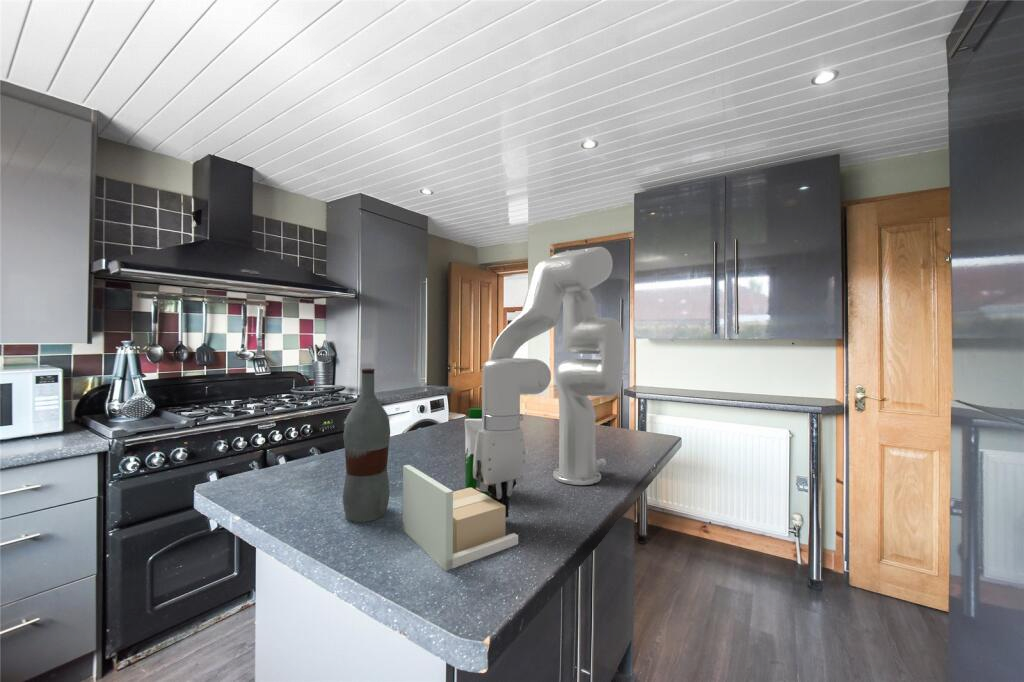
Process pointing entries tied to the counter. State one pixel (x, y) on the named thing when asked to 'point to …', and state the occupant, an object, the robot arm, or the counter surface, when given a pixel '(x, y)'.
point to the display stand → (439, 521)
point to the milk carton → (472, 445)
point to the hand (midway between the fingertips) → (500, 515)
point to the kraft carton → (476, 519)
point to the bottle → (366, 456)
